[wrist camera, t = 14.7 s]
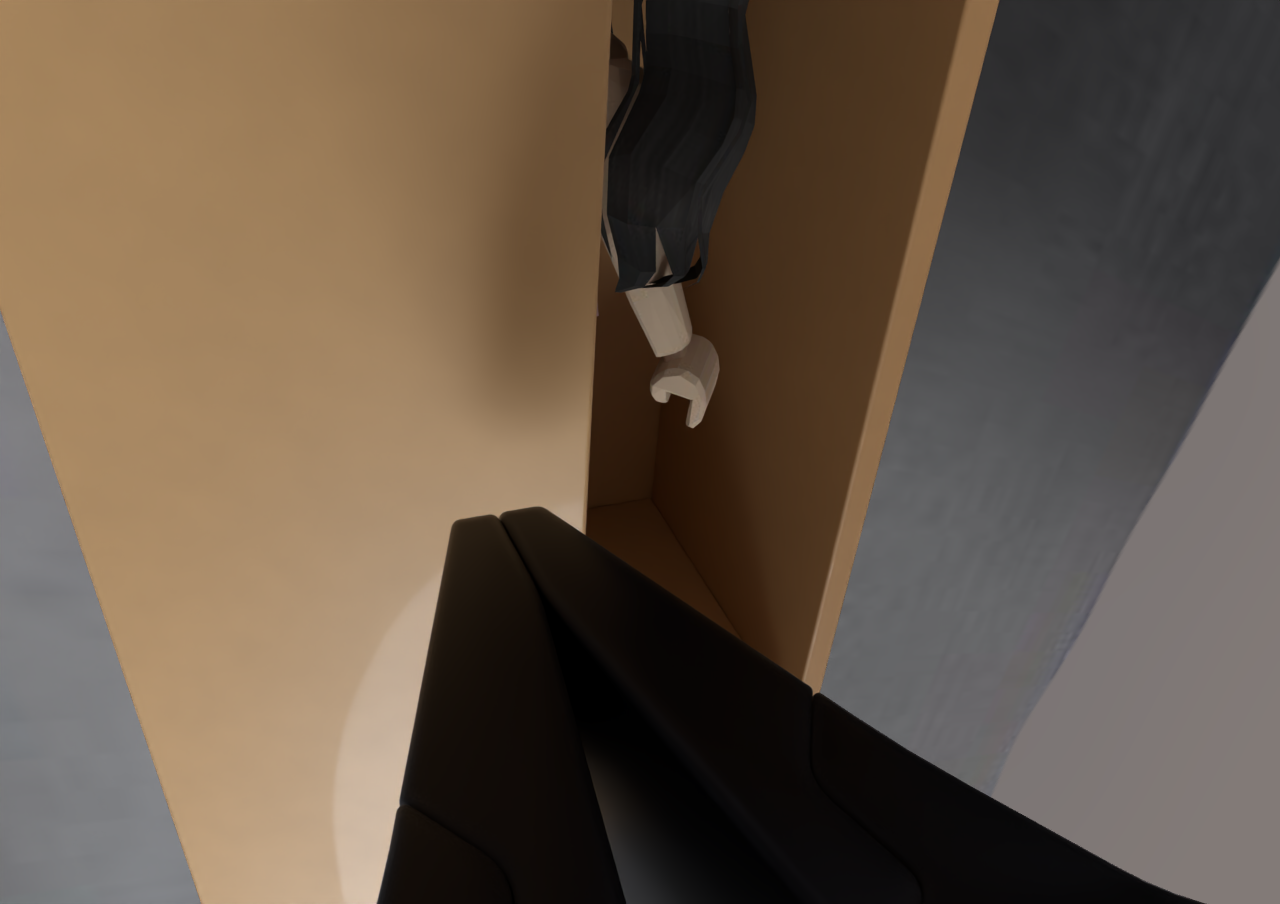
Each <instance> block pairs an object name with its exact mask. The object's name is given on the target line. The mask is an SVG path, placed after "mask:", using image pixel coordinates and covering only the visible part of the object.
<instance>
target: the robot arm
mask: <svg viewBox="0 0 1280 904" xmlns="http://www.w3.org/2000/svg"><path fill="white" fill-rule="evenodd" d="M399 805H400V807H399V808H398V809H397V811H396V816H395V822H394V827H393V832H392V838H391V843H390V848H389V853H388V857H387V861H386V866H385V870H384V874H383V879H382V883H381V887H380V892H379V896H378V900H377V904H1205V903H1202V902H1199V901H1195V900H1192V899H1190V898H1186V897H1184V896H1181V895H1178V894H1175V893H1172V892H1170V891H1168V890H1165V889H1163V888H1160V887H1158V886H1156V885H1153V884H1151V883H1148V882H1146V881H1144V880H1142V879H1140V878H1138V877H1136V876H1134V875H1132V874H1130V873H1128V872H1126V871H1124V870H1122V869H1120V868H1118V867H1117V866H1115V865H1113V864H1111V863H1109V862H1107V861H1106V860H1103V859H1102V858H1100V857H1098V856H1097V855H1095V854H1093V853H1091V852H1089V851H1087V850H1086V849H1084V848H1082V847H1080V846H1078V845H1077V844H1075V843H1073V842H1071V841H1069V840H1067V839H1066V838H1064V837H1062V836H1060V835H1058V834H1056V833H1055V832H1053V831H1051V830H1049V829H1047V828H1046V827H1044V826H1042V825H1040V824H1038V823H1037V822H1035V821H1033V820H1031V819H1029V818H1027V817H1026V816H1024V815H1022V814H1020V813H1018V812H1016V811H1015V810H1013V809H1011V808H1009V807H1007V806H1006V805H1004V804H1002V803H1000V802H998V801H997V800H994V799H993V798H991V797H989V796H988V795H986V794H984V793H982V792H980V791H978V790H977V789H975V788H973V787H971V786H969V785H968V784H966V783H964V782H963V781H961V780H959V779H957V778H956V777H954V776H952V775H950V774H949V773H947V772H945V771H943V770H942V769H940V768H938V767H937V766H935V765H933V764H931V763H930V762H928V761H926V760H924V759H923V758H921V757H919V756H918V755H916V754H914V753H912V752H911V751H909V750H907V749H906V748H904V747H902V746H901V745H899V744H898V743H896V742H895V741H893V740H892V739H890V738H888V737H887V736H885V735H884V734H882V733H881V732H879V731H877V730H876V729H874V728H873V727H871V726H870V725H868V724H866V723H865V722H863V721H862V720H860V719H859V718H857V717H856V716H854V715H852V714H851V713H849V712H848V711H847V710H845V709H844V708H842V707H841V706H839V705H838V704H836V703H835V702H833V701H832V700H830V699H829V698H827V697H826V696H824V695H823V694H821V693H815V694H814V695H813V690H812V688H811V687H810V686H809V685H807V684H806V683H804V682H803V681H801V680H800V679H798V678H797V677H795V676H794V675H792V674H791V673H790V672H788V671H787V670H785V669H784V668H782V667H781V666H779V665H778V664H776V663H775V662H773V661H772V660H770V659H769V658H767V657H766V656H764V655H763V654H761V653H760V652H758V651H757V650H755V649H754V648H752V647H751V646H749V645H748V644H746V643H745V642H743V641H742V640H741V639H739V638H738V637H736V636H735V635H733V634H732V633H730V632H729V631H727V630H726V629H724V628H723V627H721V626H720V625H718V624H717V623H715V622H714V621H712V620H711V619H709V618H708V617H706V616H705V615H703V614H702V613H700V612H699V611H697V610H696V609H695V608H693V607H692V606H690V605H689V604H687V603H686V602H684V601H683V600H681V599H680V598H678V597H677V596H675V595H674V594H672V593H671V592H669V591H668V590H666V589H665V588H663V587H662V586H660V585H659V584H657V583H656V582H654V581H653V580H651V579H650V578H648V577H647V576H646V575H644V574H643V573H641V572H640V571H638V570H637V569H635V568H634V567H632V566H631V565H629V564H628V563H626V562H625V561H623V560H622V559H620V558H619V557H617V556H616V555H614V554H613V553H611V552H610V551H608V550H607V549H605V548H604V547H602V546H601V545H599V544H598V543H597V542H595V541H594V540H592V539H591V538H589V537H588V536H586V535H585V534H583V533H582V532H580V531H579V530H577V529H576V528H574V527H573V526H571V525H570V524H568V523H567V522H565V521H564V520H562V519H561V518H559V517H558V516H556V515H555V514H553V513H552V512H550V511H549V510H548V509H546V508H543V507H540V506H534V507H529V508H523V509H517V510H511V511H506V512H503V513H502V514H501V515H500V516H499V518H498V517H497V516H495V515H492V514H488V515H482V516H476V517H470V518H465V519H459V520H456V521H455V522H454V523H453V524H452V527H451V531H450V537H449V542H448V547H447V552H446V558H445V563H444V568H443V573H442V579H441V584H440V589H439V594H438V600H437V605H436V610H435V615H434V621H433V626H432V631H431V636H430V642H429V647H428V652H427V657H426V663H425V668H424V673H423V678H422V684H421V689H420V694H419V699H418V705H417V710H416V715H415V720H414V726H413V731H412V736H411V741H410V746H409V752H408V757H407V762H406V767H405V773H404V778H403V783H402V788H401V794H400V799H399Z"/></svg>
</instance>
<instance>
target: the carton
mask: <svg viewBox="0 0 1280 904" xmlns="http://www.w3.org/2000/svg"><path fill="white" fill-rule="evenodd" d="M998 3H999V0H749V3H748V6H747V10H746V14H745V16H746V23H747V30H748V37H749V44H750V51H751V58H752V65H753V72H754V79H755V86H756V93H757V100H756V115H755V126H754V128H753V131H752V134H751V137H750V139H749V142H748V145H747V147H746V150H745V153H744V155H743V157H742V159H741V160H740V162H739V164H738V166H737V168H736V170H735V172H734V174H733V176H732V178H731V179H730V181H729V183H728V185H727V187H726V189H725V191H724V193H723V196H722V199H721V202H720V205H719V207H718V210H717V213H716V216H715V219H714V222H713V225H712V228H711V230H710V234H709V248H708V263H707V265H706V269H705V271H704V273H703V275H702V277H701V279H700V281H699V283H696V282H697V280H698V278H699V276H700V275H699V276H698V277H697V279H693V280H689V281H685V282H681V284H682V288H683V292H684V296H685V300H686V304H687V308H688V313H689V317H690V321H691V325H692V334H695V335H699V336H702V337H704V338H706V339H707V340H709V341H710V342H711V343H712V344H713V346H714V348H715V350H716V352H717V355H718V359H719V368H720V370H719V374H718V378H717V382H716V385H715V388H714V390H713V393H712V395H711V398H710V401H709V403H708V406H707V408H706V411H705V413H704V416H703V418H702V421H701V422H700V423H699V424H698V425H696V426H695V427H694V428H691V427H688V426H687V425H686V419H687V414H688V409H689V404H690V399H687V398H684V397H681V396H678V395H675V394H672V393H671V395H670V397H669V400H668V402H666V403H662V402H658V401H656V400H655V399H654V397H653V396H652V394H651V392H650V381H651V378H652V376H653V374H654V372H655V369H656V367H657V365H658V363H659V360H660V358H661V357H656V355H655V353H654V351H653V349H652V347H651V345H650V343H649V341H648V339H647V337H646V335H645V333H644V331H643V329H642V327H641V325H640V323H639V321H638V319H637V317H636V315H635V313H634V311H633V308H632V306H631V304H630V302H629V300H628V298H627V295H626V293H625V292H622V293H618V292H615V289H616V286H617V283H618V280H619V277H618V274H617V272H616V270H615V267H614V265H613V263H612V260H611V258H610V256H609V254H608V251H607V249H606V247H605V244H604V242H603V240H602V237H601V238H600V258H599V278H598V298H597V302H598V313H599V316H597V318H596V338H595V358H594V378H593V399H592V419H591V439H590V459H589V479H588V499H587V519H586V536H588V537H589V538H591V539H592V540H594V541H595V542H597V543H598V544H599V545H601V546H602V547H604V548H605V549H607V550H608V551H610V552H611V553H613V554H614V555H616V556H617V557H619V558H620V559H622V560H623V561H625V562H626V563H628V564H629V565H631V566H632V567H634V568H635V569H637V570H638V571H640V572H641V573H643V574H644V575H646V576H647V577H648V578H650V579H651V580H653V581H654V582H656V583H657V584H659V585H660V586H662V587H663V588H665V589H666V590H668V591H669V592H671V593H672V594H674V595H675V596H677V597H678V598H680V599H681V600H683V601H684V602H686V603H687V604H689V605H690V606H692V607H693V608H695V609H696V610H697V611H699V612H700V613H702V614H703V615H705V616H706V617H708V618H709V619H711V620H712V621H714V622H715V623H717V624H718V625H720V626H721V627H723V628H724V629H726V630H727V631H729V632H730V633H732V634H733V635H735V636H736V637H738V638H739V639H741V640H742V641H743V642H745V643H746V644H748V645H749V646H751V647H752V648H754V649H755V650H757V651H758V652H760V653H761V654H763V655H764V656H766V657H767V658H769V659H770V660H772V661H773V662H775V663H776V664H778V665H779V666H781V667H782V668H784V669H785V670H787V671H788V672H790V673H791V674H792V675H794V676H795V677H797V678H798V679H800V680H801V681H803V682H804V683H806V684H807V685H809V686H810V687H811V688H812V690H813V695H814V694H815V693H820V689H821V686H822V682H823V678H824V674H825V670H826V666H827V662H828V659H829V655H830V651H831V647H832V643H833V639H834V636H835V632H836V628H837V624H838V620H839V616H840V612H841V609H842V605H843V601H844V597H845V593H846V589H847V585H848V582H849V578H850V574H851V570H852V566H853V562H854V558H855V555H856V551H857V547H858V543H859V539H860V535H861V531H862V528H863V524H864V520H865V516H866V512H867V508H868V504H869V501H870V497H871V493H872V489H873V485H874V481H875V477H876V474H877V470H878V466H879V462H880V458H881V454H882V451H883V447H884V443H885V439H886V435H887V431H888V427H889V424H890V420H891V416H892V412H893V408H894V404H895V400H896V397H897V393H898V389H899V385H900V381H901V377H902V373H903V370H904V366H905V362H906V358H907V354H908V350H909V346H910V343H911V339H912V335H913V331H914V327H915V323H916V319H917V316H918V312H919V308H920V304H921V300H922V296H923V292H924V289H925V285H926V281H927V277H928V273H929V269H930V265H931V262H932V258H933V254H934V250H935V246H936V242H937V239H938V235H939V231H940V227H941V223H942V219H943V215H944V212H945V208H946V204H947V200H948V196H949V192H950V188H951V185H952V181H953V177H954V173H955V169H956V165H957V161H958V158H959V154H960V150H961V146H962V142H963V138H964V134H965V131H966V127H967V123H968V119H969V115H970V111H971V107H972V104H973V100H974V96H975V92H976V88H977V84H978V80H979V77H980V73H981V69H982V65H983V61H984V57H985V54H986V50H987V46H988V42H989V38H990V34H991V30H992V27H993V23H994V19H995V15H996V11H997V7H998ZM633 7H634V0H612V17H611V22H612V29H613V34H614V35H615V36H616V37H617V38H618V39H619V40H621V41H622V42H623V43H624V44H625V45H626V48H627V51H628V57H629V60H631V61H632V40H633ZM642 12H643V23H644V34H645V45H646V0H643V3H642ZM640 67H641V68H644V66H643V57H642V48H640ZM699 257H700V249H699V243H698V240H697V243H696V247H695V251H694V255H693V258H692V262H691V266H690V267H692V266H694V265H695V264H696V262H697V261H698V259H699ZM694 283H696V284H694ZM692 284H694V285H692ZM690 285H691V286H690ZM688 286H689V287H688ZM686 287H687V288H686Z"/></svg>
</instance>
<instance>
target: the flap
mask: <svg viewBox="0 0 1280 904" xmlns="http://www.w3.org/2000/svg"><path fill="white" fill-rule="evenodd" d="M611 17H612V0H0V311H1V314H2V316H3V319H4V322H5V325H6V328H7V331H8V334H9V337H10V340H11V343H12V346H13V349H14V352H15V355H16V358H17V361H18V364H19V367H20V370H21V373H22V376H23V379H24V381H25V384H26V387H27V390H28V393H29V396H30V399H31V402H32V405H33V408H34V411H35V414H36V417H37V420H38V423H39V426H40V429H41V432H42V435H43V438H44V441H45V444H46V446H47V449H48V452H49V455H50V458H51V461H52V464H53V467H54V470H55V473H56V476H57V479H58V482H59V485H60V488H61V491H62V494H63V497H64V500H65V503H66V506H67V508H68V511H69V514H70V517H71V520H72V523H73V526H74V529H75V532H76V535H77V538H78V541H79V544H80V547H81V550H82V553H83V556H84V559H85V562H86V565H87V568H88V571H89V573H90V576H91V579H92V582H93V585H94V588H95V591H96V594H97V597H98V600H99V603H100V606H101V609H102V612H103V615H104V618H105V621H106V624H107V627H108V630H109V633H110V636H111V638H112V641H113V644H114V647H115V650H116V653H117V656H118V659H119V662H120V665H121V668H122V671H123V674H124V677H125V680H126V683H127V686H128V689H129V692H130V695H131V698H132V701H133V703H134V706H135V709H136V712H137V715H138V718H139V721H140V724H141V727H142V730H143V733H144V736H145V739H146V742H147V745H148V748H149V751H150V754H151V757H152V760H153V763H154V765H155V768H156V771H157V774H158V777H159V780H160V783H161V786H162V789H163V792H164V795H165V798H166V801H167V804H168V807H169V810H170V813H171V816H172V819H173V822H174V825H175V828H176V830H177V833H178V836H179V839H180V842H181V845H182V848H183V851H184V854H185V857H186V860H187V863H188V866H189V869H190V872H191V875H192V878H193V881H194V884H195V887H196V890H197V893H198V895H199V898H200V901H201V904H377V900H378V896H379V892H380V887H381V883H382V879H383V874H384V870H385V866H386V861H387V857H388V853H389V848H390V843H391V838H392V832H393V827H394V822H395V816H396V811H397V809H398V808H399V807H400V805H399V799H400V794H401V788H402V783H403V778H404V773H405V767H406V762H407V757H408V752H409V746H410V741H411V736H412V731H413V726H414V720H415V715H416V710H417V705H418V699H419V694H420V689H421V684H422V678H423V673H424V668H425V663H426V657H427V652H428V647H429V642H430V636H431V631H432V626H433V621H434V615H435V610H436V605H437V600H438V594H439V589H440V584H441V579H442V573H443V568H444V563H445V558H446V552H447V547H448V542H449V537H450V531H451V527H452V524H453V523H454V522H455V521H456V520H459V519H465V518H470V517H476V516H482V515H488V514H492V515H495V516H497V517H498V518H499V516H500V515H501V514H502V513H503V512H506V511H511V510H517V509H523V508H529V507H534V506H540V507H543V508H546V509H548V510H549V511H550V512H552V513H553V514H555V515H556V516H558V517H559V518H561V519H562V520H564V521H565V522H567V523H568V524H570V525H571V526H573V527H574V528H576V529H577V530H579V531H580V532H582V533H583V534H585V535H586V519H587V499H588V479H589V459H590V439H591V419H592V399H593V378H594V358H595V338H596V318H597V298H598V278H599V258H600V238H601V218H602V198H603V178H604V158H605V138H606V118H607V97H608V77H609V57H610V37H611Z"/></svg>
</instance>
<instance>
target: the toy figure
mask: <svg viewBox="0 0 1280 904" xmlns="http://www.w3.org/2000/svg"><path fill="white" fill-rule="evenodd" d="M642 3H643V0H634V7H633V40H632V61H631V60H629V57H628V51H627V48H626V45H625V44H624V43H623V42H622V41H621V40H619V39H618V38H617V37H616V36H615V35H614V34H613V29H612V22H611V37H610V57H609V77H608V97H607V118H606V138H605V158H604V178H603V198H602V218H601V237H602V240H603V242H604V244H605V247H606V249H607V251H608V254H609V256H610V258H611V260H612V263H613V265H614V267H615V270H616V272H617V274H618V277H619V280H618V283H617V286H616V289H615V292H618V293H622V292H625V293H626V295H627V298H628V300H629V302H630V304H631V306H632V308H633V311H634V313H635V315H636V317H637V319H638V321H639V323H640V325H641V327H642V329H643V331H644V333H645V335H646V337H647V339H648V341H649V343H650V345H651V347H652V349H653V351H654V353H655V355H656V357H661V358H660V360H659V363H658V365H657V367H656V369H655V372H654V374H653V376H652V378H651V381H650V392H651V394H652V396H653V397H654V399H655V400H656V401H658V402H662V403H666V402H668V400H669V397H670V395H671V393H672V394H675V395H678V396H681V397H684V398H687V399H690V404H689V409H688V414H687V419H686V425H687V426H688V427H691V428H694V427H695V426H696V425H698V424H699V423H700V422H701V421H702V418H703V416H704V413H705V411H706V408H707V406H708V403H709V401H710V398H711V395H712V393H713V390H714V388H715V385H716V382H717V378H718V374H719V370H720V368H719V359H718V355H717V352H716V350H715V348H714V346H713V344H712V343H711V342H710V341H709V340H707V339H706V338H704V337H702V336H699V335H695V334H692V325H691V321H690V317H689V313H688V308H687V304H686V300H685V296H684V292H683V288H682V284H681V282H685V281H689V280H693V279H697V277H698V276H699V275H700V276H699V278H698V280H697V282H696V283H699V281H700V279H701V277H702V275H703V273H704V271H705V269H706V265H707V263H708V248H709V234H710V230H711V228H712V225H713V222H714V219H715V216H716V213H717V210H718V207H719V205H720V202H721V199H722V196H723V193H724V191H725V189H726V187H727V185H728V183H729V181H730V179H731V178H732V176H733V174H734V172H735V170H736V168H737V166H738V164H739V162H740V160H741V159H742V157H743V155H744V153H745V150H746V147H747V145H748V142H749V139H750V137H751V134H752V131H753V128H754V126H755V115H756V100H757V93H756V86H755V79H754V72H753V65H752V58H751V51H750V44H749V37H748V30H747V23H746V16H745V14H746V10H747V6H748V3H749V0H646V45H645V34H644V23H643V12H642ZM640 48H642V57H643V66H644V68H641V67H640ZM697 240H698V243H699V249H700V257H699V259H698V261H697V262H696V264H695V265H694V266H692V267H690V266H691V262H692V258H693V255H694V251H695V247H696V243H697ZM696 283H694V284H696ZM694 284H692V285H694ZM690 286H691V285H690ZM688 287H689V286H688ZM686 288H687V287H686ZM597 316H599V313H598V302H597Z"/></svg>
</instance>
